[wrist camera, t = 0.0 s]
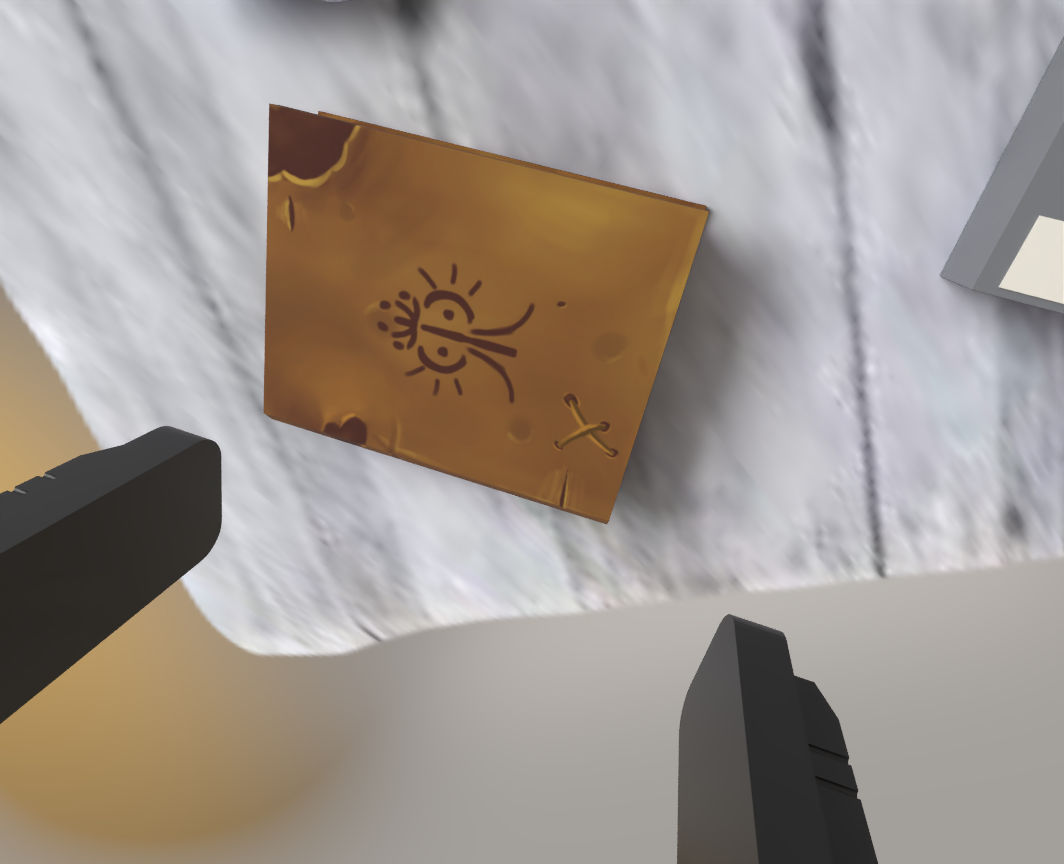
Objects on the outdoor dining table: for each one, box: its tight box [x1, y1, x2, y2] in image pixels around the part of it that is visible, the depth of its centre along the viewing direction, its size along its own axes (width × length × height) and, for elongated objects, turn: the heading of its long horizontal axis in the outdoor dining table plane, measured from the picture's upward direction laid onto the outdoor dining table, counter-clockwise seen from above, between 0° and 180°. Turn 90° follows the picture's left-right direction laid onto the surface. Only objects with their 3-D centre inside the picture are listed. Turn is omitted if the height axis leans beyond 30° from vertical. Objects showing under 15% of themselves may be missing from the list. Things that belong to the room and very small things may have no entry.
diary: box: [264, 104, 709, 524], centre depth 36 cm, size 23×19×6 cm
